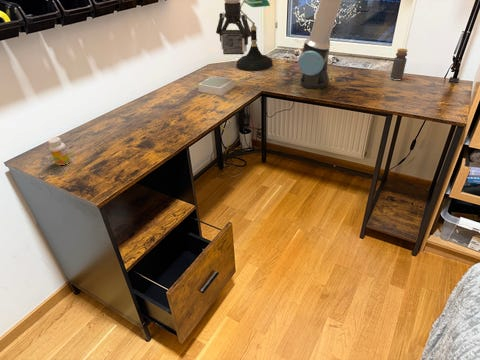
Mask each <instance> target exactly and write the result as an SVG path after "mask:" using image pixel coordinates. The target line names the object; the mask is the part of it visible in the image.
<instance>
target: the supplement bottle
mask: <svg viewBox="0 0 480 360" xmlns="http://www.w3.org/2000/svg"><path fill="white" fill-rule="evenodd" d="M48 144H49V148H48V150H49V152H50V154H51V156H52V159H53V161H54V163H55V165H56V164H57V165H65V164H67V165H69V164H70V163H71V162H72V158H71V156H70V153H69V150H68V148H67V146H66V143H64V142H62V139H61V137H58V136H57V137H55V136H54V137H52V138H50V139H48ZM70 161H71V162H70ZM69 162H70V163H69ZM68 163H69V164H68ZM57 165H56V166H57ZM65 166H66V165H65Z"/></svg>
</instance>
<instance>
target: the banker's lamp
mask: <svg viewBox="0 0 480 360" xmlns="http://www.w3.org/2000/svg"><path fill="white" fill-rule="evenodd" d="M244 4H246V5H248V6H250V7H251V8H261V7H270V6H271V3H270V2H269V1H268V0H242V2H241V8H242V7H243V5H244ZM240 13H241V15H245V12H244V11H243V10H241V11H240ZM247 21H248V22H250V23H251V27H250V31H251V34H252V36H250V42H251V43H250V47H249V50H248V53H247V54H246V55H244V56H241V57H240V58H239V59H238V60H236V63H235V67H236V69H238V70H241V71H244V72H261V71H266V70H268V68H269V69H270V68H271V67H273V66H274V62H273V59H272V57H269V56H268V55H266V54H262V53H261V52H260V49H259V47H258V44H257V41H258V39H257V36H258V35H257V26H256V25H255V24H256V23H255V22H254V21H252V20H251V18H249V17H248V16H247Z"/></svg>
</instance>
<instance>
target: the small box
mask: <svg viewBox="0 0 480 360" xmlns="http://www.w3.org/2000/svg"><path fill="white" fill-rule="evenodd" d="M222 37H223V49H222V51H223V53H222V54H223V55H245V52H243V42H242V38H244V37H243V35H242V33H241V32H240V30H239V29H226V30H224V31H223V32H222Z"/></svg>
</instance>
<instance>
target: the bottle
mask: <svg viewBox="0 0 480 360" xmlns="http://www.w3.org/2000/svg"><path fill="white" fill-rule="evenodd" d="M408 51H409V50H408V49H407V48H397V52H396V53H395V55H396V57H394V59H393V63H392V69H391V73H390V77H391V78H393V79H401V78H402V79H403V77H404V72H405V67H406V63H407V58H406V57H407V56H408Z"/></svg>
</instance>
